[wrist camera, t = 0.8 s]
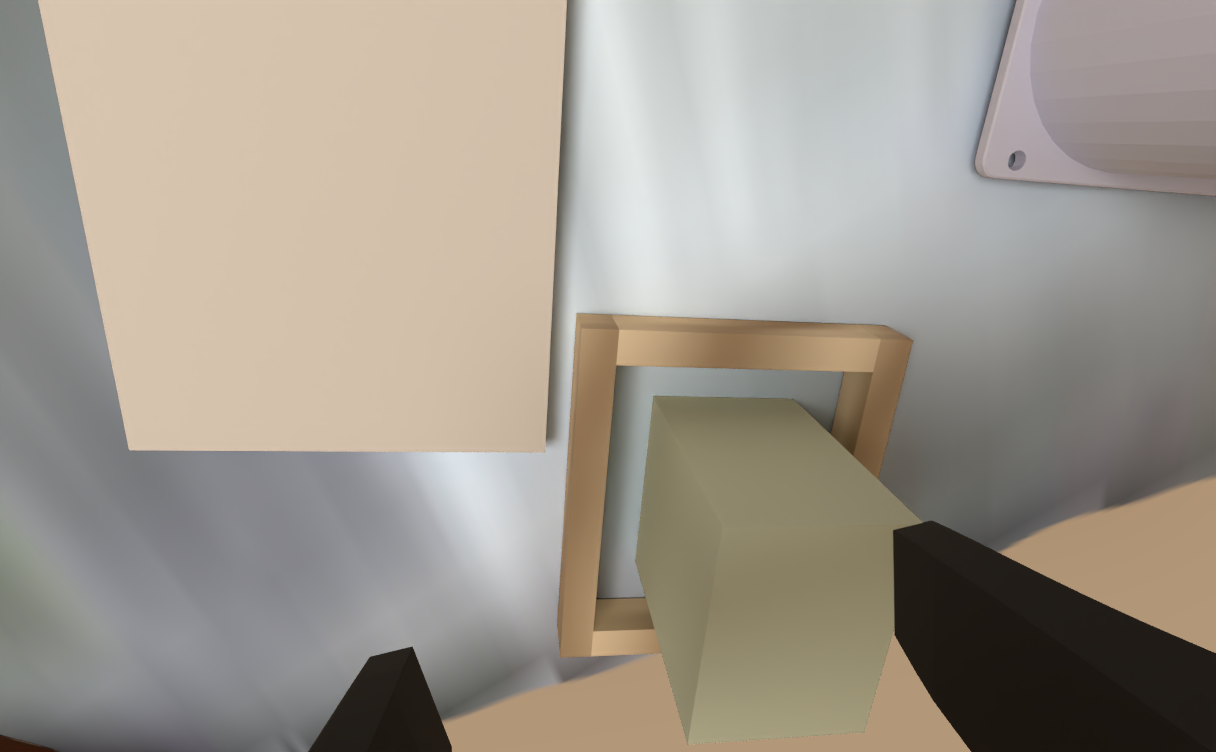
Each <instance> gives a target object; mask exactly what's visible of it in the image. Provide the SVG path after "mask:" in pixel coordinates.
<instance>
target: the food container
mask: <svg viewBox="0 0 1216 752" xmlns="http://www.w3.org/2000/svg"><path fill="white" fill-rule="evenodd" d="M0 752H57V751H55V750H53V749H51V748H47V747H44V746H40V745H36V744H32V743H28V742H25V741H21V740H17V739H13V738H10V737H6V736H2V735H0Z"/></svg>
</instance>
